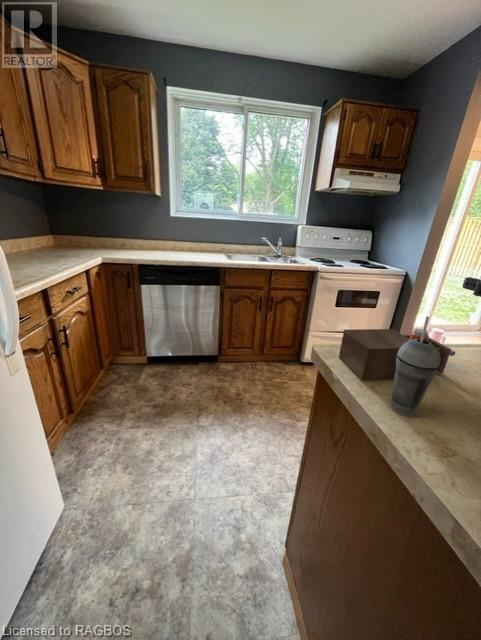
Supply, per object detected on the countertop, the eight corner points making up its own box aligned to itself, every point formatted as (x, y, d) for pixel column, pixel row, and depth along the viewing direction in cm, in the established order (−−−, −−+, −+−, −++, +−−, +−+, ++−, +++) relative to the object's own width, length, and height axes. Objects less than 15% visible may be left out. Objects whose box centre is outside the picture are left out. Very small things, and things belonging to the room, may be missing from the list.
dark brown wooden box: (385, 356, 78) (393, 329, 75) (415, 378, 68) (425, 347, 65) (338, 357, 76) (344, 329, 73) (361, 380, 65) (368, 348, 62)
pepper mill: (413, 356, 75) (422, 327, 72) (424, 363, 71) (434, 333, 68) (400, 356, 74) (408, 327, 71) (411, 363, 70) (420, 333, 68)
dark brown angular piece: (426, 353, 79) (433, 332, 77) (457, 372, 70) (466, 348, 67) (370, 355, 77) (375, 333, 74) (395, 374, 67) (402, 350, 65)
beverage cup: (387, 417, 53) (415, 322, 46) (379, 395, 60) (402, 310, 53) (428, 424, 52) (463, 328, 45) (415, 401, 59) (443, 314, 52)
